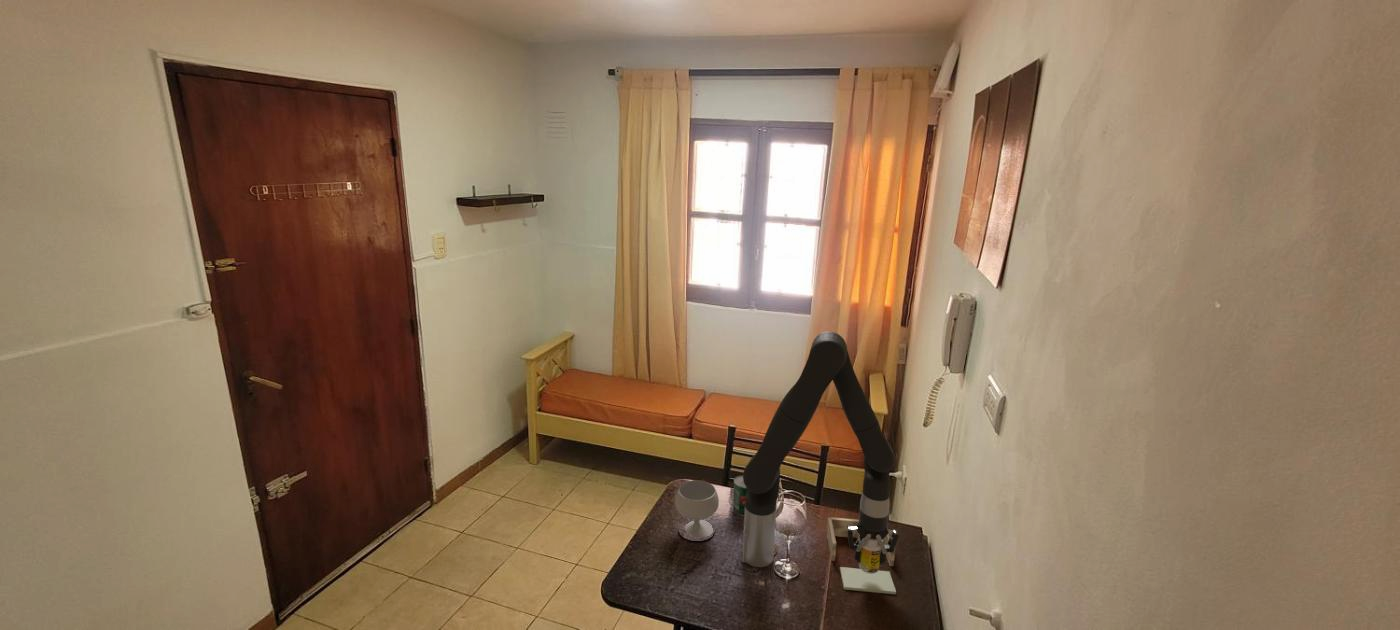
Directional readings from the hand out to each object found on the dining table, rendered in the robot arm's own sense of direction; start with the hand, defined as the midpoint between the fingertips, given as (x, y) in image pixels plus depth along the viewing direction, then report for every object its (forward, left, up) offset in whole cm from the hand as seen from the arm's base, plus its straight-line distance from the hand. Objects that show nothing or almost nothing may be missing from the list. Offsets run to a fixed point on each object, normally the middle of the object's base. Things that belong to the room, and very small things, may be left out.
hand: (869, 561), depth 147 cm
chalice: (-51, +16, -7) cm, 54 cm away
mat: (0, 0, -7) cm, 7 cm away
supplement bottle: (0, 0, -2) cm, 2 cm away
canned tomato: (-36, +30, -7) cm, 47 cm away
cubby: (0, +14, -7) cm, 16 cm away
